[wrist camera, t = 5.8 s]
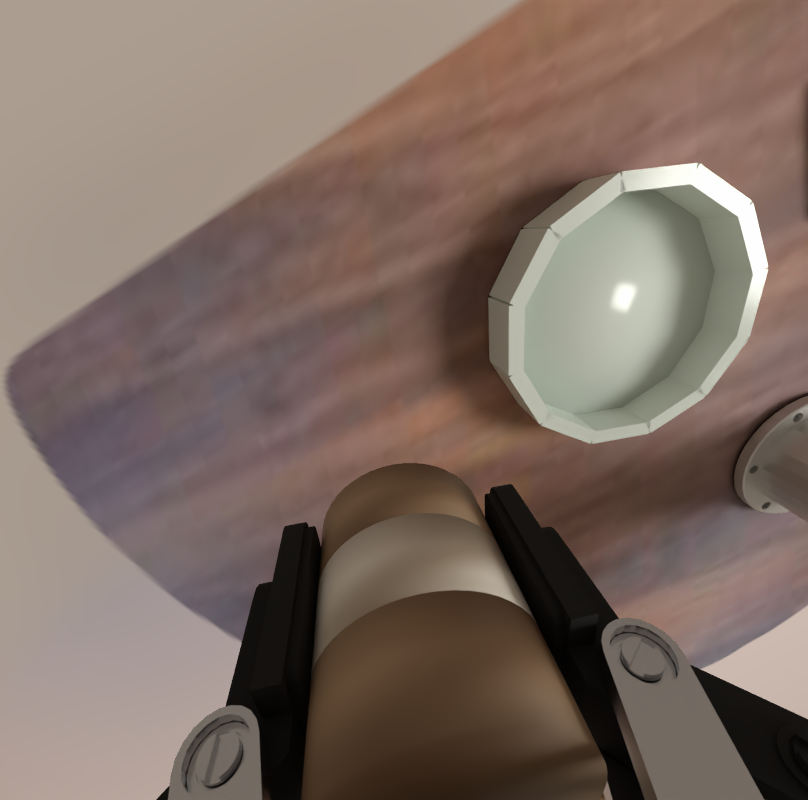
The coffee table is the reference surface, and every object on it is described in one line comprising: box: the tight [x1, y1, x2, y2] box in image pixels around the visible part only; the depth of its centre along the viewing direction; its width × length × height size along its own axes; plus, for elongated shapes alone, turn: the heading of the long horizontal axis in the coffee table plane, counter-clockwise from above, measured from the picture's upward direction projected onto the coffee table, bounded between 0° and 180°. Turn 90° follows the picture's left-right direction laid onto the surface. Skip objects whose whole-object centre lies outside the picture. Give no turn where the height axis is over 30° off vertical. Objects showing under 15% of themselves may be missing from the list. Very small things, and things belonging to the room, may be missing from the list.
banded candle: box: [301, 463, 608, 800], centre depth 8 cm, size 5×5×7 cm
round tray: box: [488, 163, 768, 444], centre depth 25 cm, size 17×17×4 cm
